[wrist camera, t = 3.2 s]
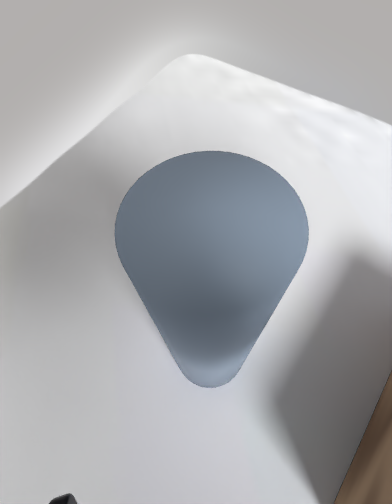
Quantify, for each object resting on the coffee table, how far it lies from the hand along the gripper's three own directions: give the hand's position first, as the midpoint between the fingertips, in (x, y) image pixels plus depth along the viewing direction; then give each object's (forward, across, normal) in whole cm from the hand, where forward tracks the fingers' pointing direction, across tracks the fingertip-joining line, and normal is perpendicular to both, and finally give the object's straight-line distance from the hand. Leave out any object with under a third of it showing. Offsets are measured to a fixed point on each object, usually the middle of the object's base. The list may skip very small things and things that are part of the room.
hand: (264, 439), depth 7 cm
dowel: (+11, 0, +5) cm, 12 cm away
